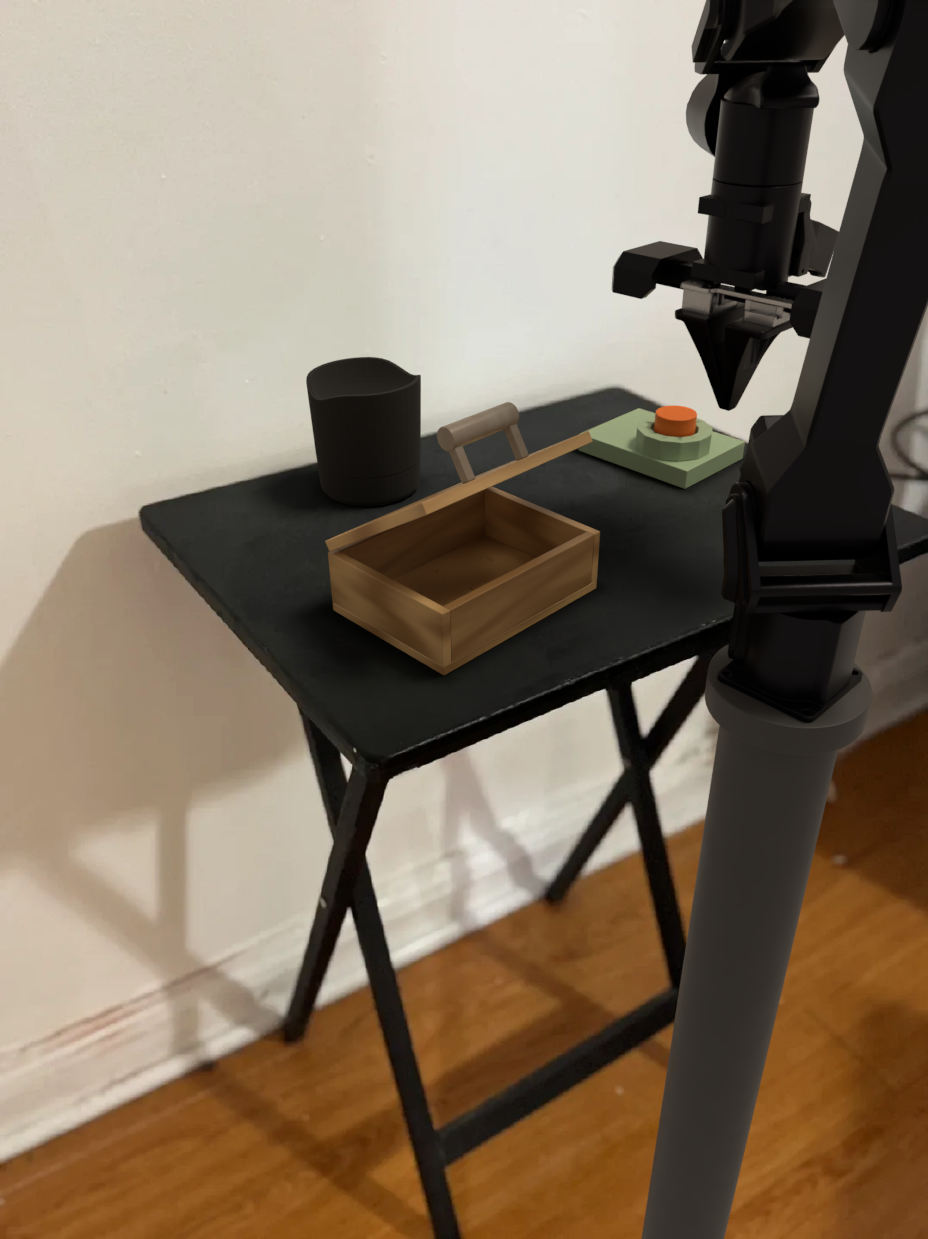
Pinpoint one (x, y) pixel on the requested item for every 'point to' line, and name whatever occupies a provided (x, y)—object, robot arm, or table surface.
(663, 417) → the button
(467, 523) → the wooden case
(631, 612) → the table surface
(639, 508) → the table surface
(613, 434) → the control block
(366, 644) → the table surface
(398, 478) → the pen holder
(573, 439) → the case lid
